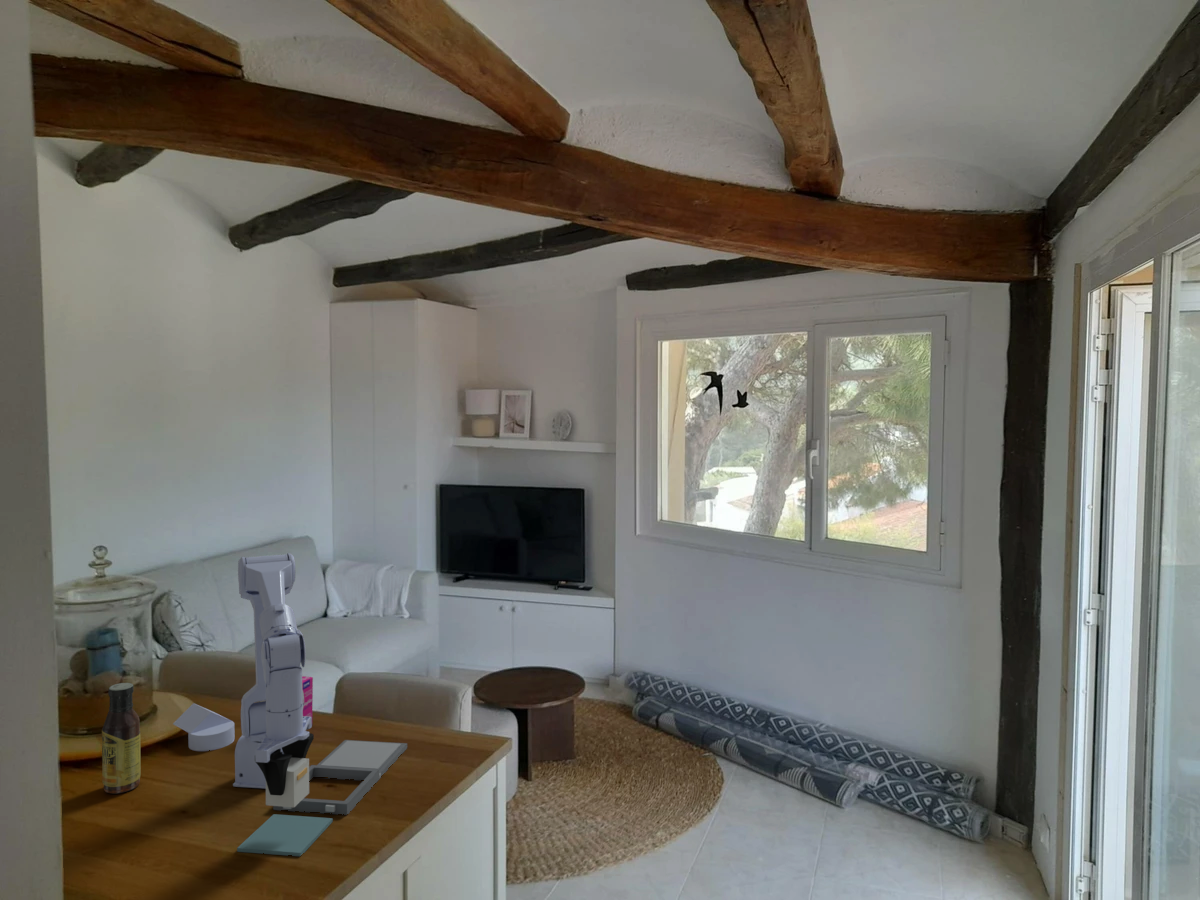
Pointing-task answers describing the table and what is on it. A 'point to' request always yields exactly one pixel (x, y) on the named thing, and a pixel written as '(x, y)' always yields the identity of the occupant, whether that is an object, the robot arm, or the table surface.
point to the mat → (285, 835)
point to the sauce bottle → (121, 742)
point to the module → (292, 784)
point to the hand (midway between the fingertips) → (285, 786)
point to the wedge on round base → (206, 728)
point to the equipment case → (350, 772)
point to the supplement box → (307, 695)
